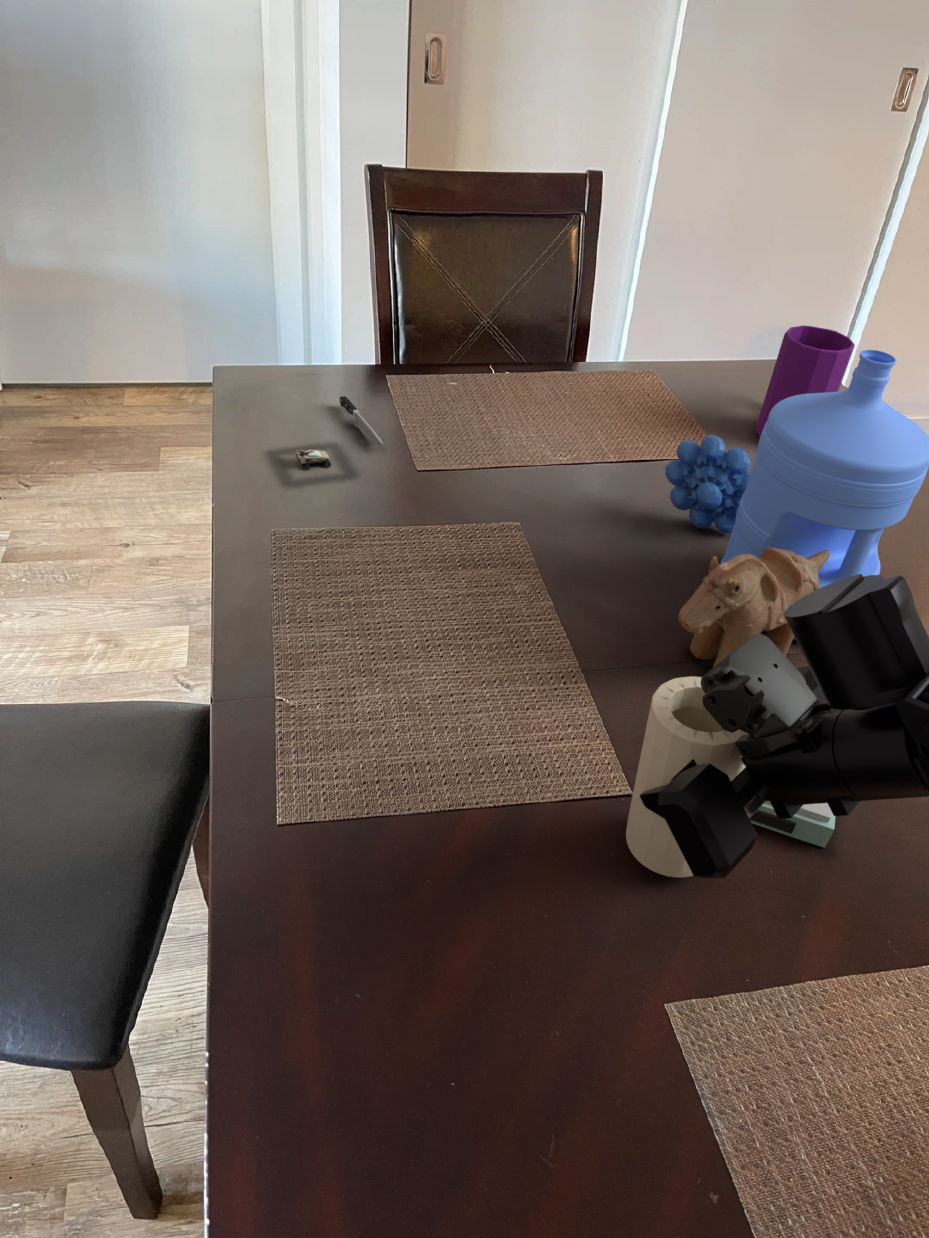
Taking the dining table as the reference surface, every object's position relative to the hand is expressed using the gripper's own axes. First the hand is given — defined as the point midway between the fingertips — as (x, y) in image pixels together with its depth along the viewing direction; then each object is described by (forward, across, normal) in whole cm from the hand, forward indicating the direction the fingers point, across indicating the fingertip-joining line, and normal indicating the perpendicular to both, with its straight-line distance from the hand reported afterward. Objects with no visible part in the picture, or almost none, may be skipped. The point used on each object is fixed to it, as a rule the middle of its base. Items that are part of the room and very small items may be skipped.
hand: (672, 773), depth 68 cm
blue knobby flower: (+22, -43, -10) cm, 49 cm away
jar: (+4, 0, +6) cm, 7 cm away
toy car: (+50, -16, -40) cm, 66 cm away
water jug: (+12, -38, -1) cm, 40 cm away
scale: (+3, -13, +8) cm, 15 cm away
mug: (+26, -77, -15) cm, 83 cm away
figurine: (+11, -24, 0) cm, 26 cm away
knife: (+53, -27, -42) cm, 73 cm away
